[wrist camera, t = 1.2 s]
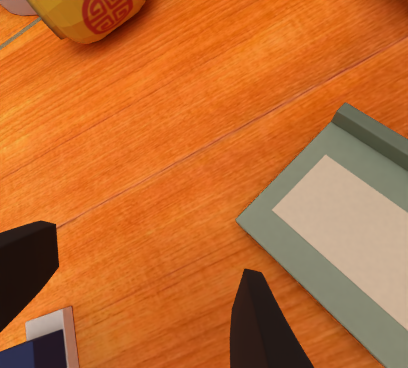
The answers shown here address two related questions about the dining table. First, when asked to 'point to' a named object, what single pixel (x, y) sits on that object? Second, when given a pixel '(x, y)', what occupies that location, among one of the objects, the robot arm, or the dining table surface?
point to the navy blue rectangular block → (45, 343)
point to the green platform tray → (345, 228)
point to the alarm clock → (18, 7)
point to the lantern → (82, 17)
